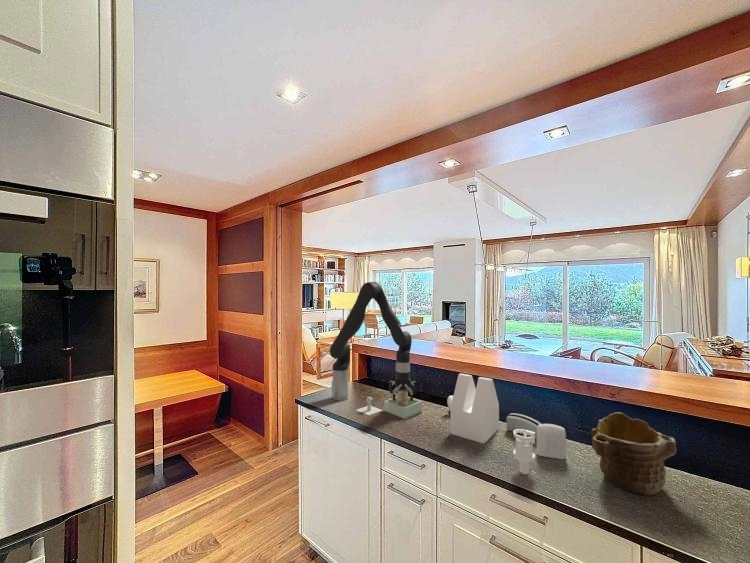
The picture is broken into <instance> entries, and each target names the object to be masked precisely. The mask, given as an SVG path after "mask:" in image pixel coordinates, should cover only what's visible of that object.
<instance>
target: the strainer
mask: <svg viewBox="0 0 750 563" xmlns="http://www.w3.org/2000/svg"><path fill="white" fill-rule="evenodd" d="M512 432H513V437H514V438H515V449H514V450H513V451H512V452H513V453H512V454H513V457H514V458H515V459H516V460H519V461H518V462H519V463H518V464H519V467H518V468H519V471H520V472H521V473H520V472H519V473H520V474H522V473H523V474H522V475H525V474H527V475H529V474H530V472H529V471H530V470H529V469H530V467H529V465H530V464H529V463H532V462H534V461H535V460H536V454H535V453H534V452H533V448H534V447H533V446H534V445H533V444H535V443H536V440H535V432H532V431H529V430H524V429H516V430H514V431H512ZM518 433H524V435H520V434H518ZM527 434H529V435H531V436H532V437H527ZM528 473H529V474H528Z"/></svg>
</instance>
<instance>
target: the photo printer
mask: <svg viewBox="0 0 750 563" xmlns="http://www.w3.org/2000/svg"><path fill="white" fill-rule="evenodd" d="M566 445H567V434H566V429H565V428H564V427H562V426H561V425H557V424H552V423H541V424H539V425H538V428H537V440H536V455H537V454H538V456H540V457H545V458H551V459H556V458H557V459H558V460H563V459H565V458H567V457H566V454H567V452H566V450H567V446H566ZM565 460H566V459H565Z"/></svg>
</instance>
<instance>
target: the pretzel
mask: <svg viewBox="0 0 750 563" xmlns="http://www.w3.org/2000/svg"><path fill="white" fill-rule="evenodd" d="M453 396H454V394H453V395H449V396H448V397H447V400H446V402H447V407H448V409H449V410H450V412H451V404H452V400H453Z"/></svg>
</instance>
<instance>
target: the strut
mask: <svg viewBox="0 0 750 563" xmlns="http://www.w3.org/2000/svg"><path fill="white" fill-rule="evenodd" d="M397 396H398V406H401V407H407V406H408V397H409V391H408V389H398V391H397Z"/></svg>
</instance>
